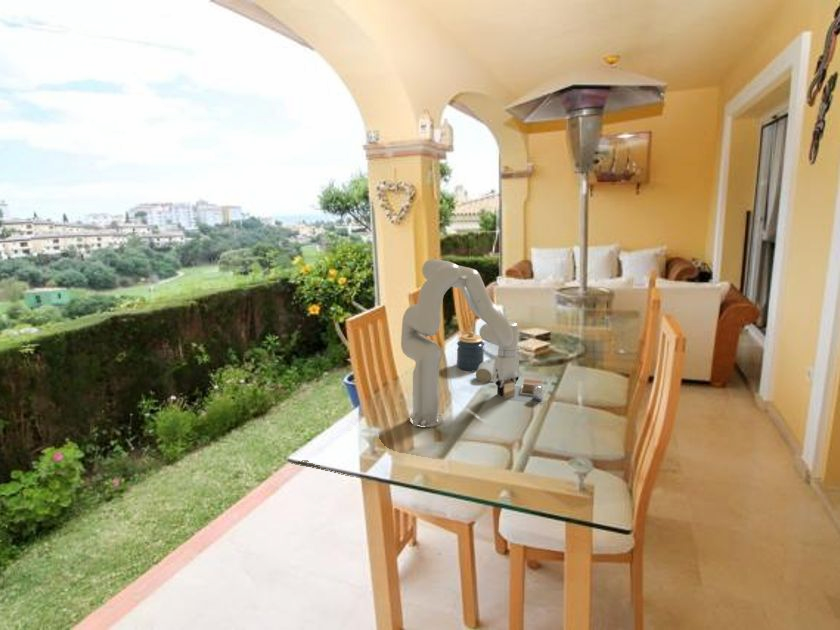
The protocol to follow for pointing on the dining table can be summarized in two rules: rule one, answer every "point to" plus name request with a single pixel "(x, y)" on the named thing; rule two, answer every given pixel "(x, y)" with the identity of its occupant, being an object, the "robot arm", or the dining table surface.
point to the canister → (470, 352)
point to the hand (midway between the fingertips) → (505, 393)
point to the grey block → (537, 393)
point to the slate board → (521, 396)
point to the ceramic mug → (485, 372)
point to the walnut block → (530, 384)
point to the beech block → (508, 389)
